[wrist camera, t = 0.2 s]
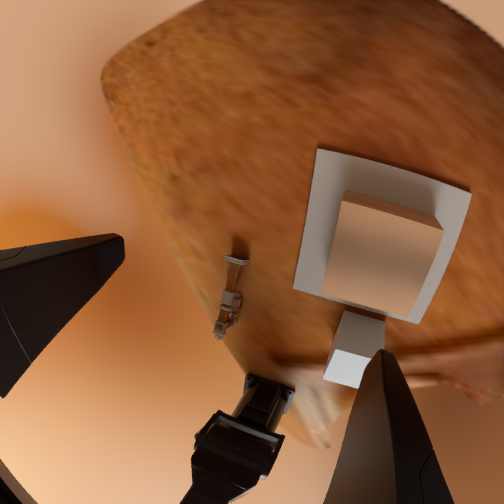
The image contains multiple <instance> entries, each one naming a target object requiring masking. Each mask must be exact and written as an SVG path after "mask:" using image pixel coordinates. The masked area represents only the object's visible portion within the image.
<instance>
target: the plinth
mask: <svg viewBox="0 0 504 504" xmlns="http://www.w3.org/2000/svg"><path fill="white" fill-rule="evenodd" d="M443 234H444V229H443V228H442V226H441V225H440V223H439V221H438V220H437V218H436V217H435V216H434V215H431V214H428V213H425V212H422V211H418V210H415V209H412V208H409V207H406V206H402V205H399V204H396V203H392V202H389V201H385V200H382V199H378V198H375V197H371V196H368V195H364V194H360V193H356V192H352V191H348V190H346V191H345V194H344V197H343V199H342V203H341V208H340V213H339V217H338V222H337V226H336V231H335V235H334V239H333V243H332V248H331V252H330V256H329V260H328V264H327V267H326V271H325V275H324V279H323V283H322V286H321V290H320V293H322V294H325V295H329V296H332V297H336V298H339V299H343V300H346V301H350V302H353V303H357V304H360V305H364V306H367V307H371V308H374V309H378V310H382V311H385V312H389V313H392V314H396V315H400V316H403V317H408V315H409V313H410V311H411V309H412V307H413V305H414V303H415V301H416V299H417V297H418V295H419V293H420V291H421V289H422V286H423V284H424V282H425V280H426V277H427V275H428V273H429V270H430V268H431V265H432V263H433V261H434V258H435V255H436V253H437V250H438V248H439V245H440V242H441V239H442V237H443Z"/></svg>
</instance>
